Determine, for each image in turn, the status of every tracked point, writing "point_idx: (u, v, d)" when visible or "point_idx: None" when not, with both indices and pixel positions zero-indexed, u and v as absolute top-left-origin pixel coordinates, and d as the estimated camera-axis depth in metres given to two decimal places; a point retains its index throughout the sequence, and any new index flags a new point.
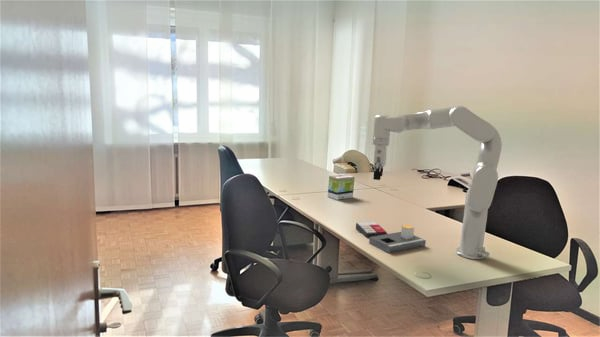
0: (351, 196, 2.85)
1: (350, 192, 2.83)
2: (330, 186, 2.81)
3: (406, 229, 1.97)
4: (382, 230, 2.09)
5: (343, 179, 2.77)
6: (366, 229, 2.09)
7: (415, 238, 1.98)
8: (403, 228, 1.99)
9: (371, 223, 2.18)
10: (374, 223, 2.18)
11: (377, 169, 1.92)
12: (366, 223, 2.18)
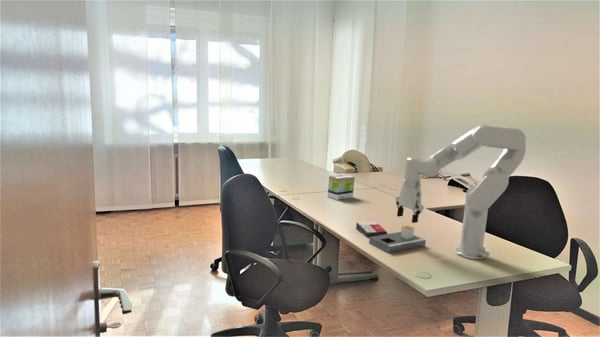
0: (351, 196, 2.85)
1: (350, 192, 2.83)
2: (330, 186, 2.81)
3: (406, 229, 1.97)
4: (382, 230, 2.09)
5: (343, 179, 2.77)
6: (366, 229, 2.09)
7: (415, 238, 1.98)
8: (403, 228, 1.99)
9: (371, 223, 2.19)
10: (374, 223, 2.19)
11: (419, 213, 1.92)
12: (366, 223, 2.18)
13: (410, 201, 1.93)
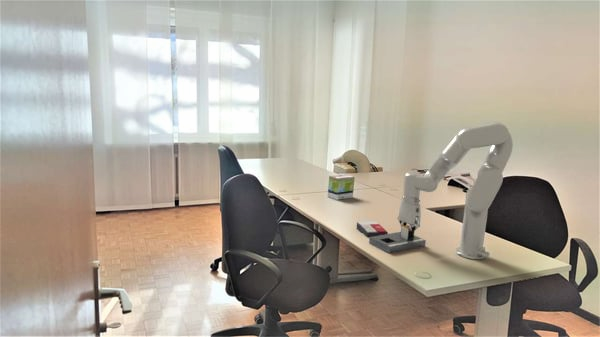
0: (351, 196, 2.85)
1: (350, 192, 2.83)
2: (330, 186, 2.81)
3: (406, 229, 1.97)
4: (383, 229, 2.10)
5: (343, 179, 2.77)
6: (367, 228, 2.10)
7: (415, 238, 1.98)
8: (403, 228, 1.99)
9: (372, 222, 2.19)
10: (375, 222, 2.19)
11: (415, 229, 1.95)
12: (367, 222, 2.19)
13: (410, 217, 1.94)
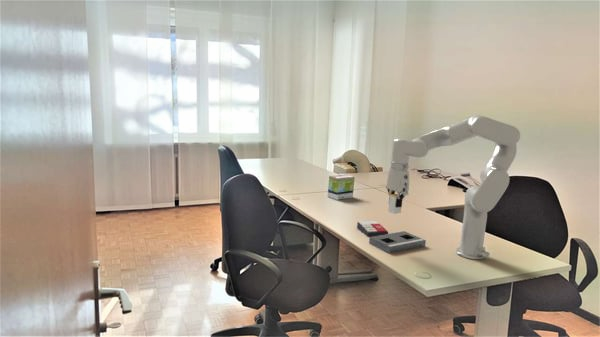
0: (351, 196, 2.85)
1: (350, 192, 2.83)
2: (329, 186, 2.81)
3: (394, 197, 1.90)
4: (383, 229, 2.10)
5: (343, 179, 2.77)
6: (367, 228, 2.11)
7: (415, 238, 1.98)
8: (391, 196, 1.92)
9: (372, 222, 2.20)
10: (375, 222, 2.20)
11: (403, 197, 1.88)
12: (367, 222, 2.19)
13: (398, 184, 1.87)
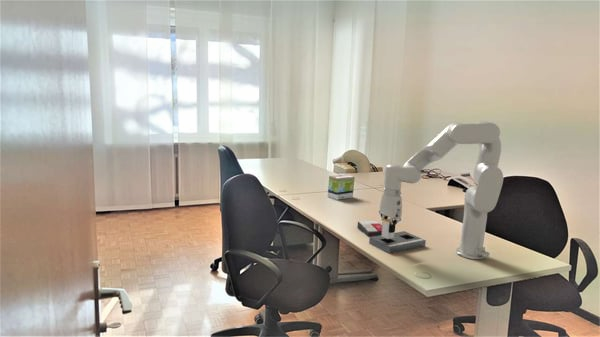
0: (351, 196, 2.85)
1: (350, 192, 2.83)
2: (329, 186, 2.81)
3: (387, 222, 1.90)
4: None
5: (343, 179, 2.77)
6: (367, 228, 2.11)
7: (415, 238, 1.98)
8: (384, 221, 1.92)
9: (372, 222, 2.20)
10: (375, 222, 2.20)
11: (396, 222, 1.88)
12: (367, 222, 2.20)
13: (390, 210, 1.87)
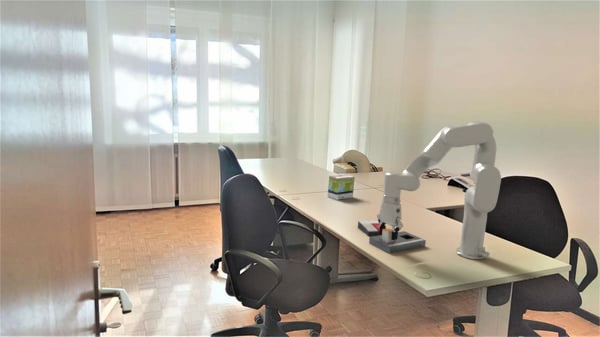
0: (351, 196, 2.85)
1: (350, 192, 2.83)
2: (330, 186, 2.81)
3: (387, 232, 1.91)
4: None
5: (343, 179, 2.77)
6: (368, 227, 2.11)
7: (415, 238, 1.98)
8: (384, 231, 1.93)
9: (373, 222, 2.21)
10: (376, 222, 2.21)
11: (398, 230, 1.87)
12: (368, 222, 2.20)
13: (390, 217, 1.88)
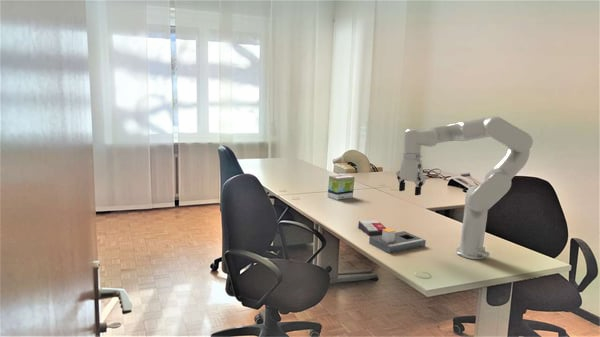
0: (351, 196, 2.85)
1: (350, 192, 2.83)
2: (329, 186, 2.81)
3: (387, 232, 1.91)
4: (384, 228, 2.12)
5: (343, 179, 2.77)
6: (368, 227, 2.12)
7: (415, 238, 1.98)
8: (384, 231, 1.93)
9: (373, 221, 2.21)
10: (376, 221, 2.22)
11: (422, 184, 1.88)
12: (368, 221, 2.21)
13: (412, 173, 1.90)
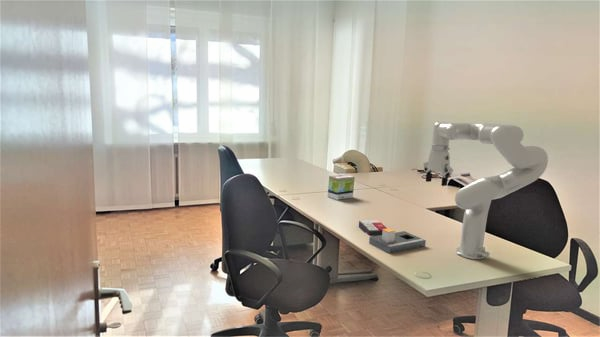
0: (351, 196, 2.85)
1: (350, 192, 2.83)
2: (329, 186, 2.81)
3: (387, 232, 1.91)
4: (384, 228, 2.12)
5: (343, 179, 2.77)
6: (369, 227, 2.13)
7: (415, 238, 1.98)
8: (384, 231, 1.93)
9: (374, 221, 2.22)
10: (377, 221, 2.22)
11: (448, 175, 1.97)
12: (369, 221, 2.21)
13: (439, 165, 1.98)
